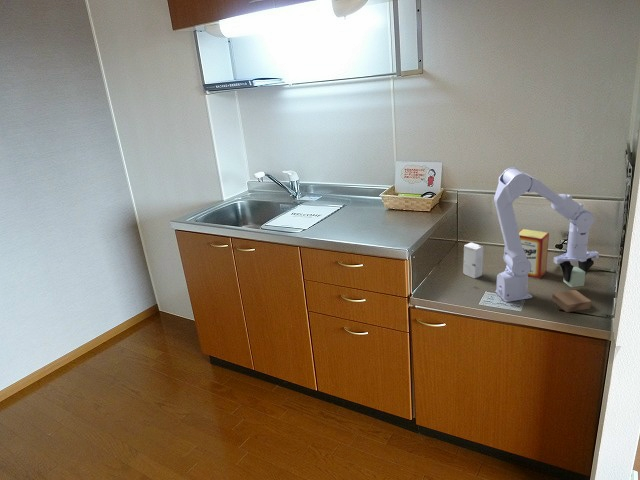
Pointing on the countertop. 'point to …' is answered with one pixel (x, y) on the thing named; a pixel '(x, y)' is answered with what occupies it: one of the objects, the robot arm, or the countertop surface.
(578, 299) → the walnut block
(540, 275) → the baking soda box
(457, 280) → the countertop surface
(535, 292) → the countertop surface
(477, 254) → the skincare box
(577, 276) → the sage block
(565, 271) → the robot arm
